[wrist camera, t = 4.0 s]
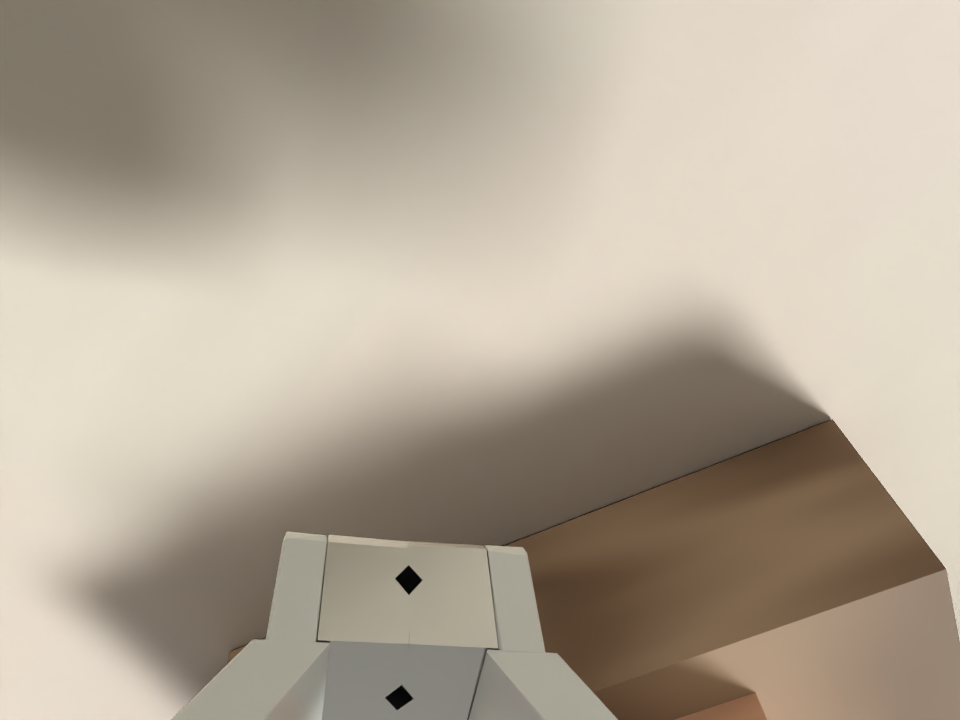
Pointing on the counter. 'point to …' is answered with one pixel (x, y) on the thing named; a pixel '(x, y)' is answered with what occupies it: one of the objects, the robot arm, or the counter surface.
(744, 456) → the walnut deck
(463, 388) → the counter surface
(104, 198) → the counter surface
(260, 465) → the counter surface
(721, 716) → the terracotta tile
